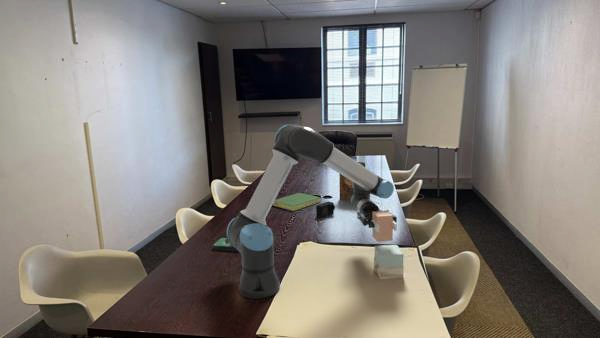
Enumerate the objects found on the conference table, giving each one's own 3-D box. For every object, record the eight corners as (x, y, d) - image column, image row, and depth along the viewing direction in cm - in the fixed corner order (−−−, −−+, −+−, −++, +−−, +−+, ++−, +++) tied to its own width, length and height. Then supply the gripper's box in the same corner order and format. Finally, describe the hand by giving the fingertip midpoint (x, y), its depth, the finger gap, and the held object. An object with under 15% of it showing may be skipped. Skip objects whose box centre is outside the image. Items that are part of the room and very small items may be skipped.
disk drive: (250, 244, 192) (221, 242, 195) (249, 239, 192) (221, 236, 195) (242, 253, 182) (212, 250, 186) (242, 247, 182) (211, 245, 185)
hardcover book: (299, 198, 269) (298, 192, 268) (320, 203, 256) (320, 197, 256) (271, 206, 251) (271, 200, 251) (292, 212, 239) (292, 206, 238)
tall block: (372, 236, 157) (372, 211, 155) (387, 234, 158) (387, 210, 156) (377, 241, 152) (377, 216, 150) (392, 240, 152) (392, 215, 150)
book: (338, 199, 260) (338, 162, 255) (342, 197, 265) (341, 160, 260) (361, 203, 252) (361, 164, 247) (365, 200, 256) (365, 162, 251)
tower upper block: (374, 257, 161) (374, 245, 160) (396, 256, 161) (396, 244, 160) (379, 267, 152) (379, 255, 151) (403, 266, 152) (403, 254, 151)
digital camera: (323, 218, 224) (323, 206, 223) (316, 216, 228) (316, 205, 226) (335, 214, 231) (335, 202, 230) (328, 212, 235) (328, 201, 234)
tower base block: (373, 269, 161) (373, 257, 160) (395, 267, 162) (395, 256, 161) (380, 279, 153) (380, 267, 152) (403, 278, 154) (403, 265, 153)
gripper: (389, 216, 173) (411, 235, 151) (346, 219, 171) (362, 239, 148) (389, 199, 171) (411, 216, 149) (346, 202, 169) (362, 220, 147)
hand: (387, 228), depth 149 cm, fingers closed on tall block, 6 cm apart
